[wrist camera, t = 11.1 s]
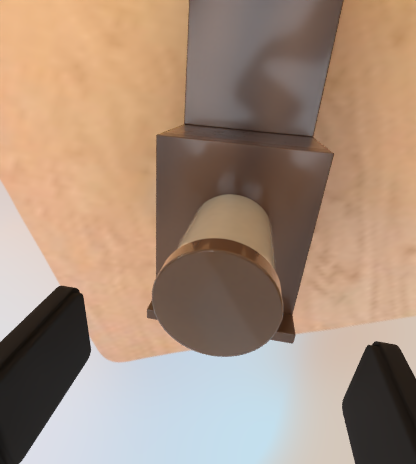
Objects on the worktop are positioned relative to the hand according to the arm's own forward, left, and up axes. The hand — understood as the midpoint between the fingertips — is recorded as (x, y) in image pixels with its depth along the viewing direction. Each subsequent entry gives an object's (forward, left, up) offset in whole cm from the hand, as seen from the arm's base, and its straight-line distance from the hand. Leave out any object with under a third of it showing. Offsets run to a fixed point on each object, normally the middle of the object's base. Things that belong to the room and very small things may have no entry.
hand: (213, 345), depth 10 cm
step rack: (0, -5, -21) cm, 22 cm away
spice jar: (0, 0, -10) cm, 10 cm away
